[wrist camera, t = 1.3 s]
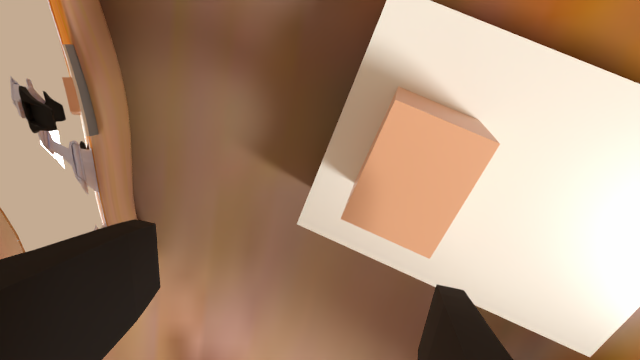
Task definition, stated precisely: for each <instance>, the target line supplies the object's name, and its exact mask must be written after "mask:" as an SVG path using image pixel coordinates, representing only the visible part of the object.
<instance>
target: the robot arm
mask: <svg viewBox="0 0 640 360" xmlns="http://www.w3.org/2000/svg"><path fill="white" fill-rule="evenodd" d="M159 288H160V277H159V264H158V250H157V237H156V224H154V223H150V222H145V221H140V220H136V219H134V220H129V221H125V222H121V223H117V224H114V225H110V226H107V227H104V228H101V229H97V230H94V231H91V232H88V233H85V234H82V235H78V236H75V237H72V238H69V239H66V240H63V241H60V242H57V243H54V244H50V245H47V246H44V247H41V248H38V249H35V250H31V251H28V252H24V253H21V254H18V255H14V256H11V257H8V258H4V259H1V260H0V360H102V359H103V358H104V357H105V356H106V355H107V353H108V352H109V351H110V350H111V349H112V348H113V347H114V346H115V345H116V344H117V342H118V341H119V340H120V339H121V338H122V337H123V336H124V335H125V334H126V332H127V331H128V330H129V329H130V328H131V327H132V326H133V324H134V323H135V322H136V321H137V320H138V318H139V317H140V316H141V314H142V313H143V312H144V310H145V309H146V307H147V306H148V305H149V303H150V302H151V300H152V299H153V297H154V296H155V294H156V293H157V291H158V290H159ZM418 360H513V359H512V358H511V356H510V355H509V354H508V352H507V351H506V350H505V348H504V347H503V345H502V344H501V343H500V341H499V340H498V338H497V337H496V336H495V334H494V333H493V331H492V330H491V328H490V327H489V326H488V324H487V323H486V321H485V320H484V318H483V317H482V316H481V314H480V313H479V311H478V310H477V308H476V307H475V305H474V304H473V302H472V301H471V300H470V298H469V297H468V295H467V294H466V292H465V291H464V290H461V289H456V288H452V287H447V286H442V285H438V284H437V285H436V288H435V292H434V295H433V299H432V302H431V306H430V310H429V313H428V317H427V320H426V324H425V327H424V331H423V334H422V338H421V341H420V345H419V349H418Z"/></svg>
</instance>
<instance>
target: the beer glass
mask: <svg viewBox="0 0 640 360" xmlns="http://www.w3.org/2000/svg"><path fill="white" fill-rule="evenodd" d="M0 211H1V213H2V215H3V216H4V218H5V219H6V221H7V222H8V224H9V225H10V227H11V228H12V230H13V232H14V234H15V236H16V238H17V241H18V242H19V244H20V246H21V248H22V251H23V253H24V252H28V251H31V250H35V249H38V248H41V247H44V246H47V245H50V244H54V243H57V242H60V241H63V240H66V239H69V238H72V237H75V236H78V235H82V234H85V233H88V232H91V231H94V230H97V229H101V228H104V227H107V226H110V225H114V224H117V223H121V222H125V221H129V220H134V219H136V220H138V219H137V216H136V211H135V205H134V197H133V182H132V153H131V132H130V122H129V112H128V104H127V99H126V94H125V89H124V83H123V78H122V75H121V71H120V67H119V63H118V59H117V56H116V52H115V49H114V45H113V42H112V39H111V36H110V32H109V29H108V26H107V23H106V20H105V17H104V14H103V11H102V8H101V4H100V1H99V0H0Z"/></svg>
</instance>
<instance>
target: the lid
mask: <svg viewBox="0 0 640 360" xmlns="http://www.w3.org/2000/svg"><path fill="white" fill-rule="evenodd" d="M297 225H300V226H302V227H304V228H306V229H308V230H311V231H313V232H315V233H317V234H319V235H322V236H324V237H326V238H328V239H330V240H333V241H335V242H337V243H339V244H341V245H344V246H346V247H348V248H350V249H352V250H355V251H357V252H359V253H361V254H363V255H366V256H368V257H370V258H372V259H374V260H377V261H379V262H381V263H383V264H385V265H388V266H390V267H392V268H394V269H397V270H399V271H401V272H403V273H405V274H408V275H410V276H412V277H414V278H416V279H419V280H421V281H423V282H425V283H427V284H430V285H432V286H434V287H436V285H437V284H438V285H442V286H447V287H452V288H456V289H461V290H464V291H465V292H466V294H467V295H468V297H469V298H470V300H471V301H472V302H473V304H474V305H476V306H478V307H480V308H482V309H485V310H487V311H489V312H491V313H493V314H496V315H498V316H500V317H502V318H504V319H507V320H509V321H511V322H513V323H515V324H518V325H520V326H522V327H524V328H526V329H529V330H531V331H533V332H535V333H537V334H540V335H542V336H544V337H546V338H548V339H551V340H553V341H555V342H557V343H559V344H562V345H564V346H566V347H568V348H570V349H573V350H575V351H577V352H579V353H581V354H584V355H586V356H588V357H591V356H592V355H593V354H594V353H595V352H596V351H597V350H598V349H599V348H600V346H601V345H602V344H603V343H604V342H605V341H606V340H607V339H608V338H609V337H610V336H611V335H612V334H613V333H614V332H615V331H616V330H617V329H618V328H619V327H620V326H621V325H622V324H623V323H624V322H625V321H626V320H627V319H628V318H629V317H630V316H631V315H632V314H633V313H634V312H635V311H636V310H637V309H638V308H639V307H640V84H639V83H636V82H633V81H631V80H628V79H626V78H623V77H621V76H618V75H616V74H613V73H611V72H608V71H606V70H603V69H601V68H598V67H596V66H593V65H591V64H588V63H586V62H583V61H581V60H578V59H576V58H573V57H571V56H568V55H566V54H563V53H561V52H558V51H556V50H553V49H551V48H548V47H546V46H543V45H541V44H538V43H536V42H533V41H531V40H528V39H526V38H523V37H521V36H518V35H516V34H513V33H511V32H508V31H506V30H503V29H501V28H498V27H496V26H493V25H491V24H488V23H486V22H483V21H481V20H478V19H476V18H473V17H471V16H468V15H466V14H463V13H461V12H458V11H456V10H453V9H451V8H448V7H446V6H443V5H441V4H438V3H436V2H433V1H431V0H387V1H386V3H385V6H384V8H383V11H382V13H381V16H380V18H379V21H378V23H377V26H376V28H375V31H374V33H373V36H372V38H371V41H370V43H369V46H368V48H367V51H366V53H365V55H364V58H363V60H362V63H361V65H360V68H359V70H358V73H357V75H356V78H355V80H354V83H353V85H352V88H351V90H350V93H349V95H348V98H347V100H346V103H345V105H344V108H343V110H342V113H341V115H340V118H339V120H338V123H337V125H336V128H335V130H334V133H333V135H332V138H331V140H330V143H329V145H328V148H327V150H326V153H325V155H324V158H323V160H322V163H321V165H320V168H319V170H318V173H317V175H316V177H315V180H314V182H313V185H312V187H311V190H310V192H309V195H308V197H307V200H306V202H305V205H304V207H303V210H302V212H301V215H300V217H299V220H298V222H297Z"/></svg>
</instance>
